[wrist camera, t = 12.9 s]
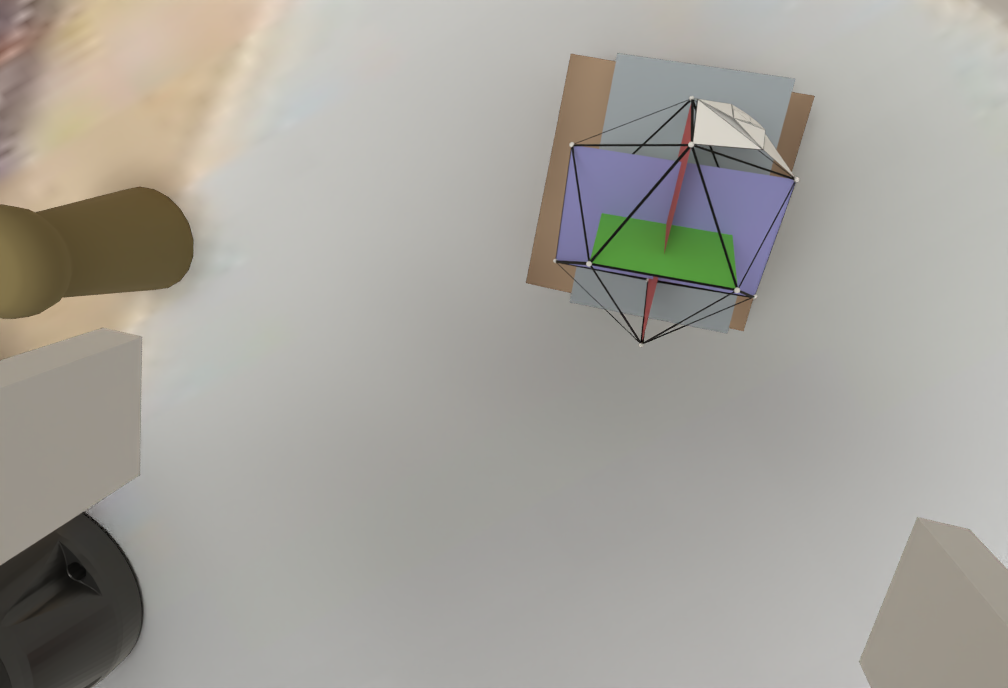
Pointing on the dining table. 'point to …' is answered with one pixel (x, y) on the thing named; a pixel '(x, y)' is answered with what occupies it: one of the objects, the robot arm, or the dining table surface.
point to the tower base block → (586, 120)
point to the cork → (91, 249)
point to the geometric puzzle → (676, 210)
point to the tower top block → (648, 91)
